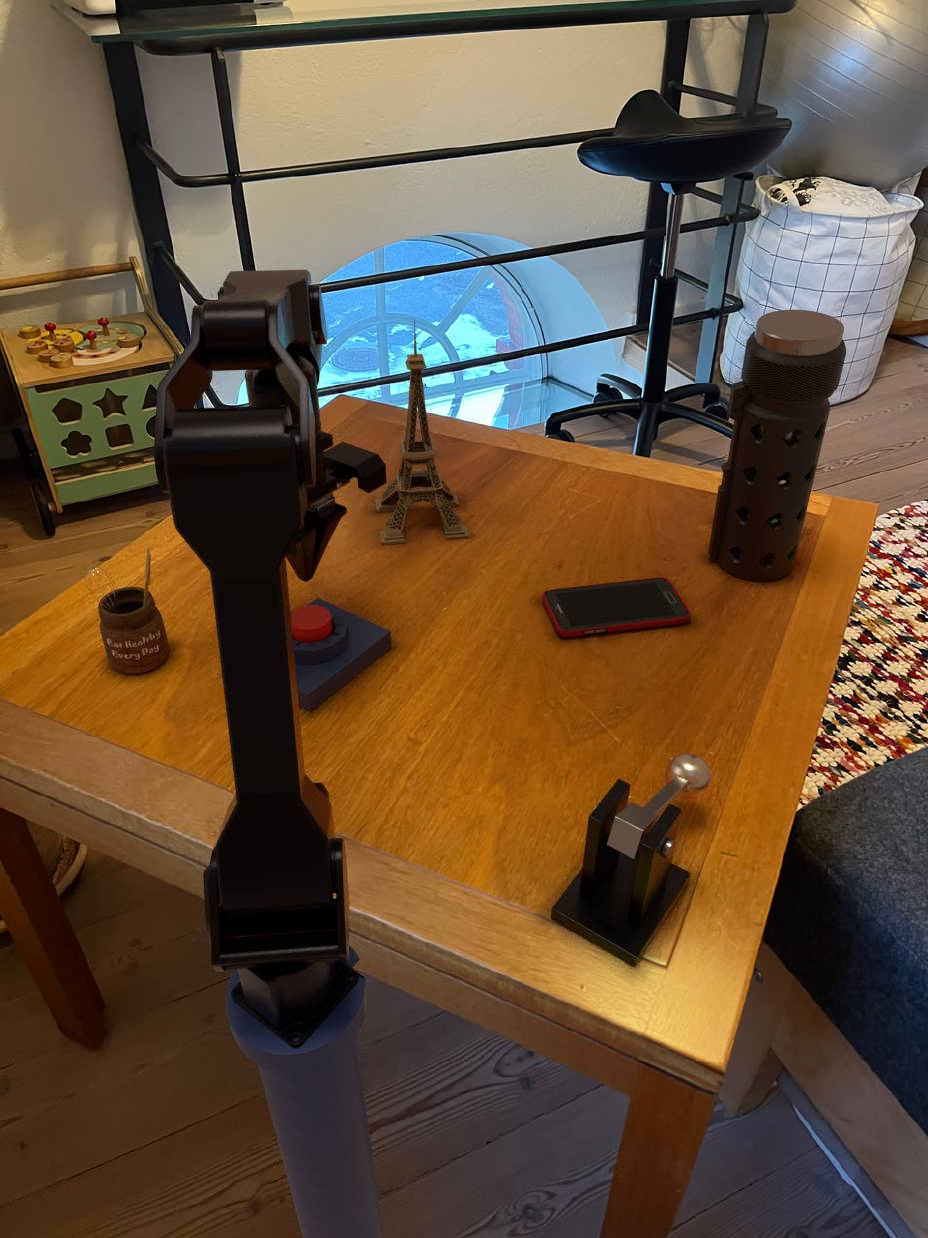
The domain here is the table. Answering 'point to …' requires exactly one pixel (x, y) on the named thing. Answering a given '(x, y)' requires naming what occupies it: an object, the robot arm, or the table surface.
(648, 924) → the bracket
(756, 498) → the water bottle
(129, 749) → the table surface
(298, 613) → the button
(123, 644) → the utensil holder
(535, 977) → the table surface
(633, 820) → the lever
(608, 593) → the cell phone
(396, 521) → the eiffel tower
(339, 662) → the control box
